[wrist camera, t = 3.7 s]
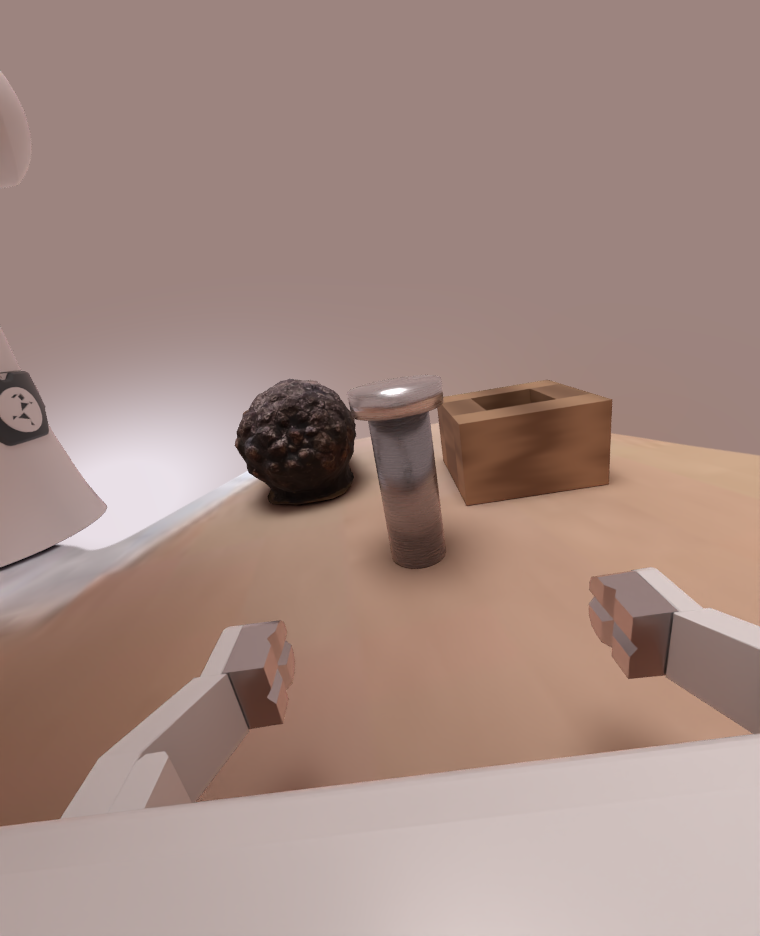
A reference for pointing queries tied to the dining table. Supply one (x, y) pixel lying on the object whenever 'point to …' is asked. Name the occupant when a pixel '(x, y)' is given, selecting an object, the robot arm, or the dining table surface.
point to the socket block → (525, 440)
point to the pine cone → (298, 442)
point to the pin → (405, 463)
